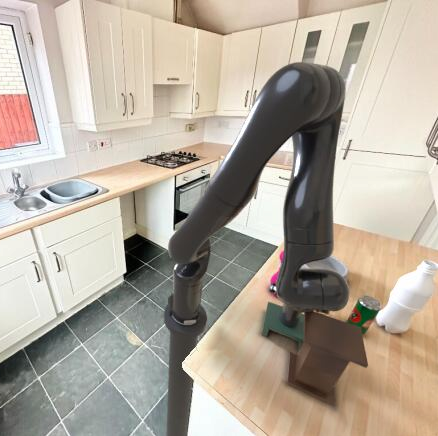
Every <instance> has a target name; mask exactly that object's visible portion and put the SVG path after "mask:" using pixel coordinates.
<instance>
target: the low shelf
mask: <svg viewBox="0 0 438 436" xmlns="http://www.w3.org/2000/svg"><path fill="white" fill-rule="evenodd" d="M282 306H283V305H280V304H277V303H274V302H271V301H267V303H266V308H265V309H266V310H265V313H264V318H263V323H262V329H261V333H260V334H261V336H265V337H268V334H269V331H270V330H271V331H272V332H275V333H278V334H279V335H282V336H285V337H287V338H290V339H293V340H295V341H297V342H298V351H299V350H300V348H301V346H302V343H303V333H304V313H302V315H301V317H300V320H299V322H298V324H297V326H296V327H294V328H290V327H287V326H285V325H283V324H282V323H281V322H280V320H279V315H280V312H281V309H282Z"/></svg>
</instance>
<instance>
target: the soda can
mask: <svg viewBox="0 0 438 436" xmlns="http://www.w3.org/2000/svg"><path fill="white" fill-rule="evenodd" d="M381 310H382V303H381V301H380V300H378V299H377V298H375V297H373V296H370V295H362V296H360V297H358V299H357V300H356V303H355V304H354V306H353V309H351V312H350V314H349V316H348V317H347V319H346V321H345V322H347V323H350V324H353V325H355V326H358V327H361V331H362V335H366V333H367V332H368V330H369V328H370V327H371V325H372V324H373V323H374V321H375V319H376V317H377V314H378V313H379V311H381Z"/></svg>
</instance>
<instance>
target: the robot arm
mask: <svg viewBox="0 0 438 436" xmlns="http://www.w3.org/2000/svg"><path fill="white" fill-rule="evenodd" d="M262 86H263V87H262V88H261V89H260V91H259V93H258V94H257V96H256V98H255V100H254V102H253V103H252V106H251V108H250V110H249V112H248V114H247V116H246V118H245V120H244V122H243V124H242V126H241V128H240V131H239V133H238V134H237V136H236V138H235V140H234V142H233V143H232V145H231V146H230V148H229V150H228V151H227V153H226V155H225V156H224V157H223V159H222V161H221V163H220V164H219V166H218V168H217V169H216V170H215V172H214V173H213V175H212V177H211V178H210V179H209V181H208V182H207V184H206V185H205V187H204V189H203V191H202V192H201V194H200V195H199V197H198V199H197V200H196V203H194V205H193V207H192V209H191V210H190V211H189V213H188V215H187V217H186V218H185V220H183V222H182V223H181V224H180V226H179V227H178V228H177V230H176V231H175V232H174V233H173V234H172V235H171V236H170V238H169V240H168V244H167V252H168V255H169V258H170V259H171V261H172V262H174V263H175V264H174V266H173V269H172V291H171V293H170V294H169V295H168V296H167V304H168V303H169V304H170V308H169V316H171V317H172V318H173V320H174V321H175V322H176V323H177V324H179V325H182V326H192V325H194V324H196V323H197V322H198V320H199V316H200V305H201V303H202V296H203V287H204V279H205V276H206V273H207V272H208V268H209V263H210V259H211V252H212V241H211V238H212V237H213V236H214V235H216V234H217V233H218V232H220V231H221V230H223V229H224V228H225V227H226V226H228V225H229V224H230V223H231V222H233V221H234V219H236V218H237V217H238V216H239V215H240V213H241V212H242V211H243V210H244V209H245V208H246V207H247V206H248V204H250V202H252V200H253V198H254V197H255V195H256V193H257V190H258V188H259V186H260V182H261V181H260V180H261V177H262V174H263V172H264V169H265V168H266V166H267V165H268V163H269V162H270V161H271V159H272V158H273V157H274V156H275V155H276V154H277V153H278V151H279V150H280V149H281V148H282V147H283V146H284V145H285V144H286V142H288V140H290V139H291V141H292V149H293V150H292V151H293V155H292V157H293V159H292V167H291V173H290V177H289V181H288V185H287V188H286V192H285V196H284V200H283V208H282V226H283V227H282V229H283V242H284V243H283V251H284V254H283V260H282V264H281V267H280V266H279V268H280V270H279V269H278V270H279V274H278V277H277V281H276V284H275V283H272V282H271V283H270V285H269V289H268V292H269V293H270V292H271V293H272V294H274V295H275V296H276V295H278V297H277V298H278V299H279V300H280V302H281V303H282V305H283V304H285V305H286V306H288V307H289V308H290V309H292V310H293V311H296V312H300V313H302V314H304V313H306V312H311V311H315V312H318V313H321V314H324V315H329V313H330V312H339V311H342V310H343V309H344V308H345V307H346V306H347V305H348V303H349V300H350V297H351V296H350V295H351V294H350V293H351V290H350V287H349V284H348V281H347V282H346V280H345V279H344V277H343V276H342V275H341V274H339V273H338V272H336V271H334V270H331V269H324V268H317V269H316V268H301V267H302V266H303V265H304V264H307V263H310V262H314V261H319V260H323V259H326V258H328V257H330V256H333V254H334V250H335V249H334V248H335V240H334V239H335V235H334V233H335V231H334V228H335V227H334V182H335V181H334V179H335V166H336V157H337V151H338V150H337V149H338V141H339V135H340V130H341V129H340V128H341V124H342V118H343V113H344V107H345V100H346V92H347V88H346V82H345V79H344V76H343V75H342V74H341V72H340V71H338V70H337V69H336V68H334V67H331V66H328V65H325V64H319V63H313V62H304V61H295V62H292V63H288V64H286V65H283V66H282V67H280V68H279V69H277V70H276V71H275V72H274V73H273V74H272V75H270V77H269V78H268V80H267V81H266V82H265V83H264V85H262ZM271 293H270V294H271ZM272 294H271V295H272ZM274 295H273V296H274ZM275 296H274V297H275ZM201 306H202V305H201Z"/></svg>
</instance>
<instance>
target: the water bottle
mask: <svg viewBox="0 0 438 436" xmlns="http://www.w3.org/2000/svg"><path fill="white" fill-rule="evenodd" d="M437 272H438V263H437V262H435V261H433V260H429V259H424V260H422V262H421V263H420V264H419V265H417V269H416V270H414V271H411V272H408V273H406V274H404V275H402V276H401V277H399V278H398V280H397V282H396V284H395V286H394V287H393V289H392V290H391V291H390V292H389V299H388V302H387V304H386V305H385V306H384V307H383V308H382V309H381V310H380V311H379V313H378V314H377V316H376V318H375V319H376V320H375V321H376V323H377V325H378V326H380V327H385V331H386V332H387V333H389V334H403V333H404V334H405V332H407V331H408V330H409V329H410V326H411V325H410V324H411V320H412V317H413V316H414V315H415V314H417V313H419V312H422V311H423V310H424V308H425V306H426V305H427V304H428V302H429V300H430V299H431V298H432V297H433V296H434V295H435V293H436V285H435V280H434V276H436V275H437Z"/></svg>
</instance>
